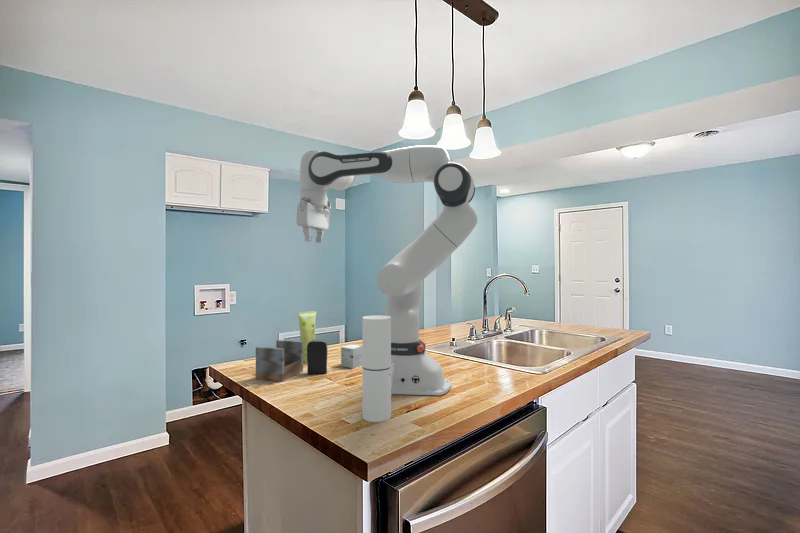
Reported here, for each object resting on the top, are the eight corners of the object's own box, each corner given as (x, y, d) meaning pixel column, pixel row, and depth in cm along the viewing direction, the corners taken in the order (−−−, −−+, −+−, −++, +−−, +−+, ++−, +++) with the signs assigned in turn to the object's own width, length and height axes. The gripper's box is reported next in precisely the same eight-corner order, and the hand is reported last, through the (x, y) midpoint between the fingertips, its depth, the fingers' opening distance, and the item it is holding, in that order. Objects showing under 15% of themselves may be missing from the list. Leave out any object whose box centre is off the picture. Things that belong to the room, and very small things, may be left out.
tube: (310, 364, 151) (310, 312, 151) (298, 363, 152) (297, 312, 152) (316, 360, 156) (316, 310, 156) (304, 359, 157) (304, 310, 157)
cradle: (303, 371, 141) (302, 341, 141) (282, 381, 129) (282, 349, 129) (278, 368, 144) (278, 340, 144) (255, 379, 132) (255, 347, 131)
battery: (328, 371, 141) (328, 338, 141) (327, 374, 138) (327, 341, 137) (308, 371, 141) (308, 339, 140) (306, 374, 137) (306, 341, 137)
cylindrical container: (356, 418, 99) (356, 317, 99) (374, 409, 105) (373, 314, 105) (379, 424, 95) (379, 320, 95) (396, 414, 101) (396, 316, 101)
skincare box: (340, 366, 147) (340, 346, 147) (351, 362, 153) (351, 343, 152) (353, 368, 144) (353, 348, 144) (363, 365, 149) (363, 345, 149)
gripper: (310, 195, 123) (310, 240, 123) (332, 204, 143) (332, 243, 143) (291, 196, 124) (291, 240, 124) (315, 205, 144) (316, 243, 144)
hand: (313, 242), depth 134 cm, fingers open, 8 cm apart
